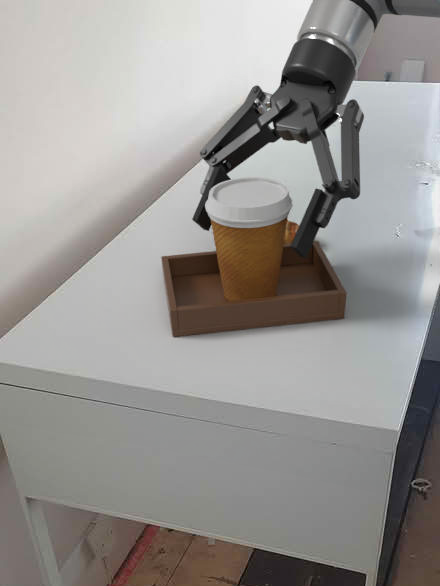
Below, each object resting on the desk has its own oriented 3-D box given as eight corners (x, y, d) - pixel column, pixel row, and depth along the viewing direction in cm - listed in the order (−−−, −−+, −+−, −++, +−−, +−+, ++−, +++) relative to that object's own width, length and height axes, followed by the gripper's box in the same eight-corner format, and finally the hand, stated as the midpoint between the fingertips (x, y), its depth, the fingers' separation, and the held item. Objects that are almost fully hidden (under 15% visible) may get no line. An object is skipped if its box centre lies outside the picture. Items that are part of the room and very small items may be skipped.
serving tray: (316, 265, 91) (317, 240, 89) (344, 318, 81) (346, 292, 79) (163, 280, 90) (161, 256, 88) (172, 337, 80) (170, 310, 78)
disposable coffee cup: (301, 305, 82) (305, 202, 74) (221, 318, 81) (216, 214, 73) (276, 269, 89) (277, 171, 81) (202, 280, 88) (195, 182, 80)
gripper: (439, 91, 75) (355, 279, 77) (249, 67, 88) (180, 228, 89) (423, 44, 69) (331, 250, 70) (220, 25, 81) (146, 200, 83)
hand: (247, 238), depth 80 cm, fingers open, 13 cm apart
